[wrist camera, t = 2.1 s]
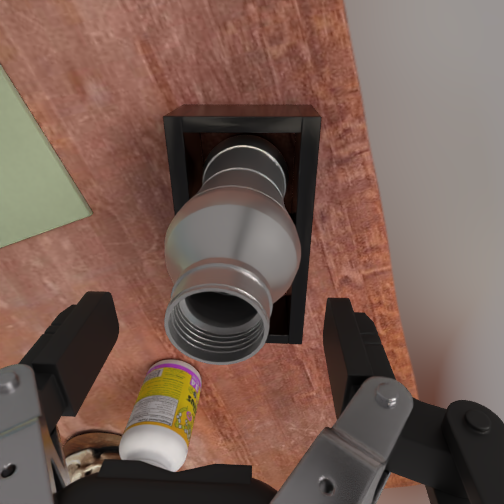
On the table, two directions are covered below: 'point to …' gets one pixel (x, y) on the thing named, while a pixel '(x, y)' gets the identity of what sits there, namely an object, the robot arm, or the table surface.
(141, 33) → the table surface
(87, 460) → the skull
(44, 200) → the mat
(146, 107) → the table surface
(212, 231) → the silver water bottle
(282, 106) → the bottle rack
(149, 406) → the supplement bottle
